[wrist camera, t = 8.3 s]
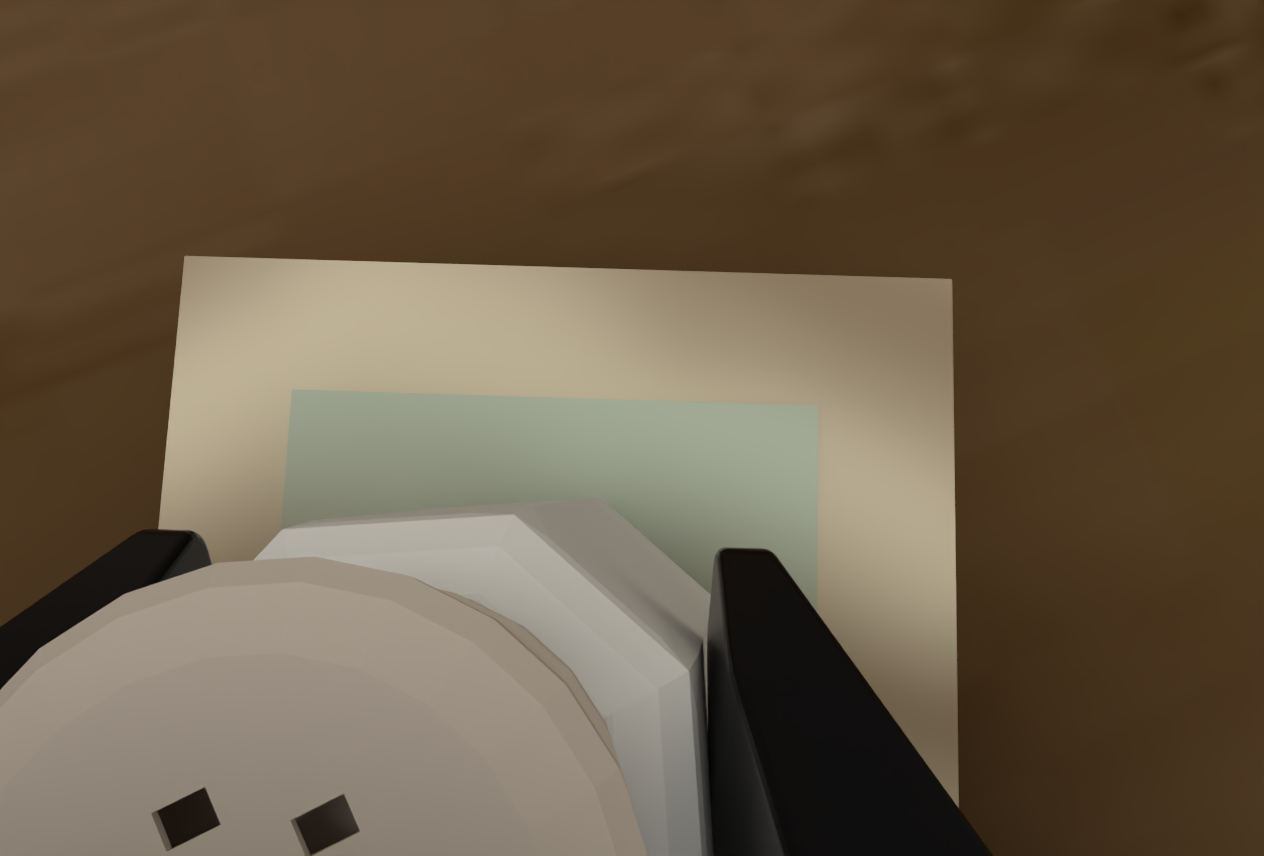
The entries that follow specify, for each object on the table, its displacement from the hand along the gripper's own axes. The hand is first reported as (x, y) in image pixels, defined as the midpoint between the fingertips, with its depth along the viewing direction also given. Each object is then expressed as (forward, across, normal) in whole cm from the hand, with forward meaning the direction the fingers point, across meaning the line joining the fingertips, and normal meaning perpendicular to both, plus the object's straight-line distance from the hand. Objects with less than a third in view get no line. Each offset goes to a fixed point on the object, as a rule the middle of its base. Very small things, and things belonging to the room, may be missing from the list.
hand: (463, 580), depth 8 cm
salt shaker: (+4, 0, +6) cm, 7 cm away
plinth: (+7, 0, +8) cm, 11 cm away
